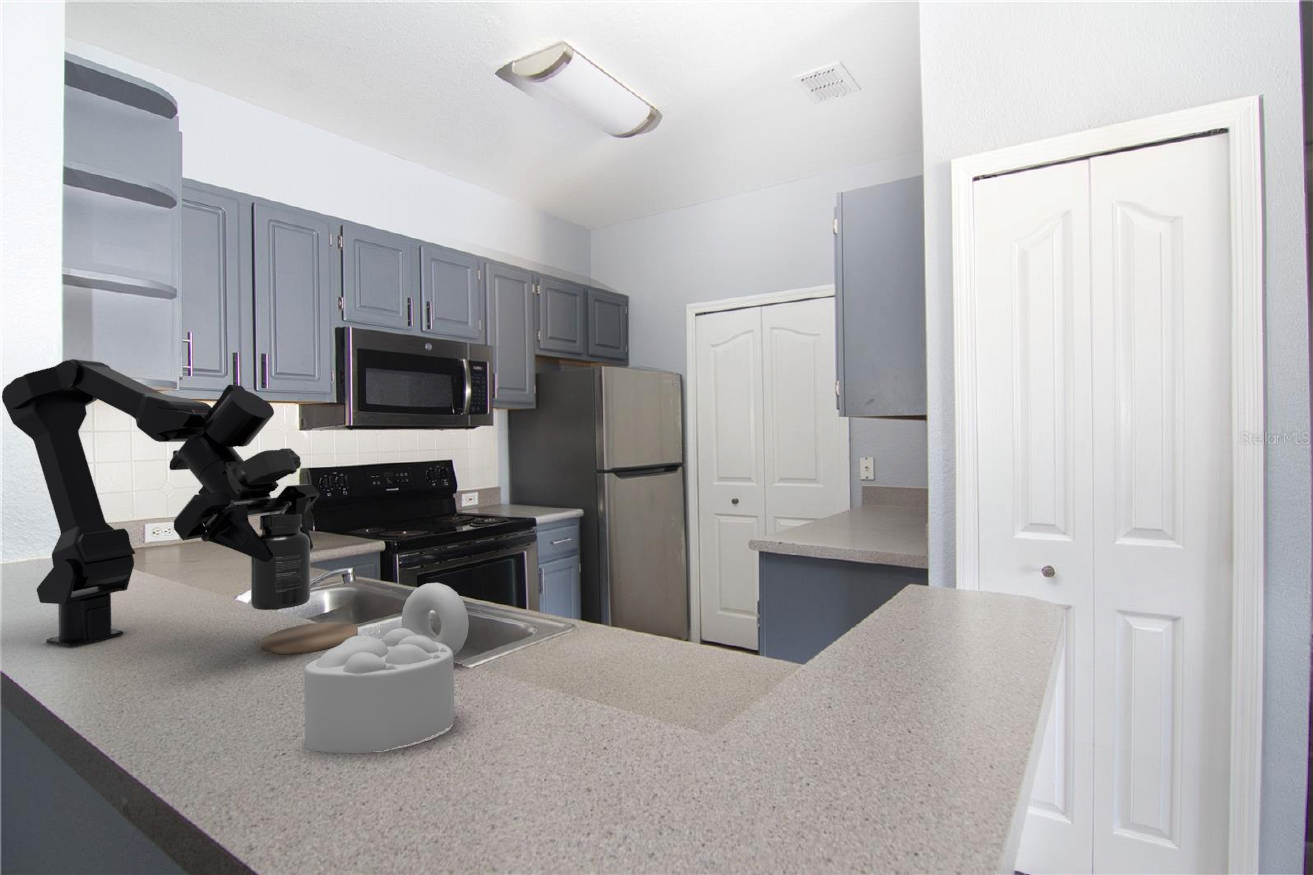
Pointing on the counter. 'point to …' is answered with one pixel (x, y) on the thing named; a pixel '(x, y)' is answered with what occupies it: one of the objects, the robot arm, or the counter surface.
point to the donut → (447, 610)
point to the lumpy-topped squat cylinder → (378, 693)
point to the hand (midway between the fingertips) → (290, 554)
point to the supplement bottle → (281, 564)
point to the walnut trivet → (309, 637)
